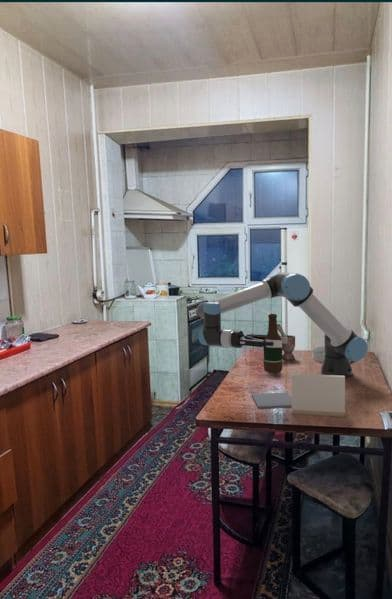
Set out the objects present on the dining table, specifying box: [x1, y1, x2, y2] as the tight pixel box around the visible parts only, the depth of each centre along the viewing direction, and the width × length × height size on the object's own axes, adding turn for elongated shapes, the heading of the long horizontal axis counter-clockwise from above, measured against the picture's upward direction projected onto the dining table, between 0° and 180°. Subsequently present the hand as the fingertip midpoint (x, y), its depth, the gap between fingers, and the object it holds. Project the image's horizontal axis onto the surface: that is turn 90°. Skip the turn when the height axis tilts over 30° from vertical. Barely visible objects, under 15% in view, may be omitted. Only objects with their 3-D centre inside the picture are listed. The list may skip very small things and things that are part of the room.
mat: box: [251, 392, 292, 409], centre depth 194 cm, size 16×16×1 cm
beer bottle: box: [263, 313, 283, 374], centre depth 191 cm, size 8×8×24 cm
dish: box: [311, 346, 351, 363], centre depth 262 cm, size 22×22×5 cm
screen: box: [291, 373, 346, 418], centre depth 178 cm, size 20×6×15 cm, turn 75°
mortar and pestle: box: [277, 323, 296, 361], centre depth 265 cm, size 12×9×20 cm
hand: (284, 342), depth 189 cm, fingers closed on beer bottle, 7 cm apart
